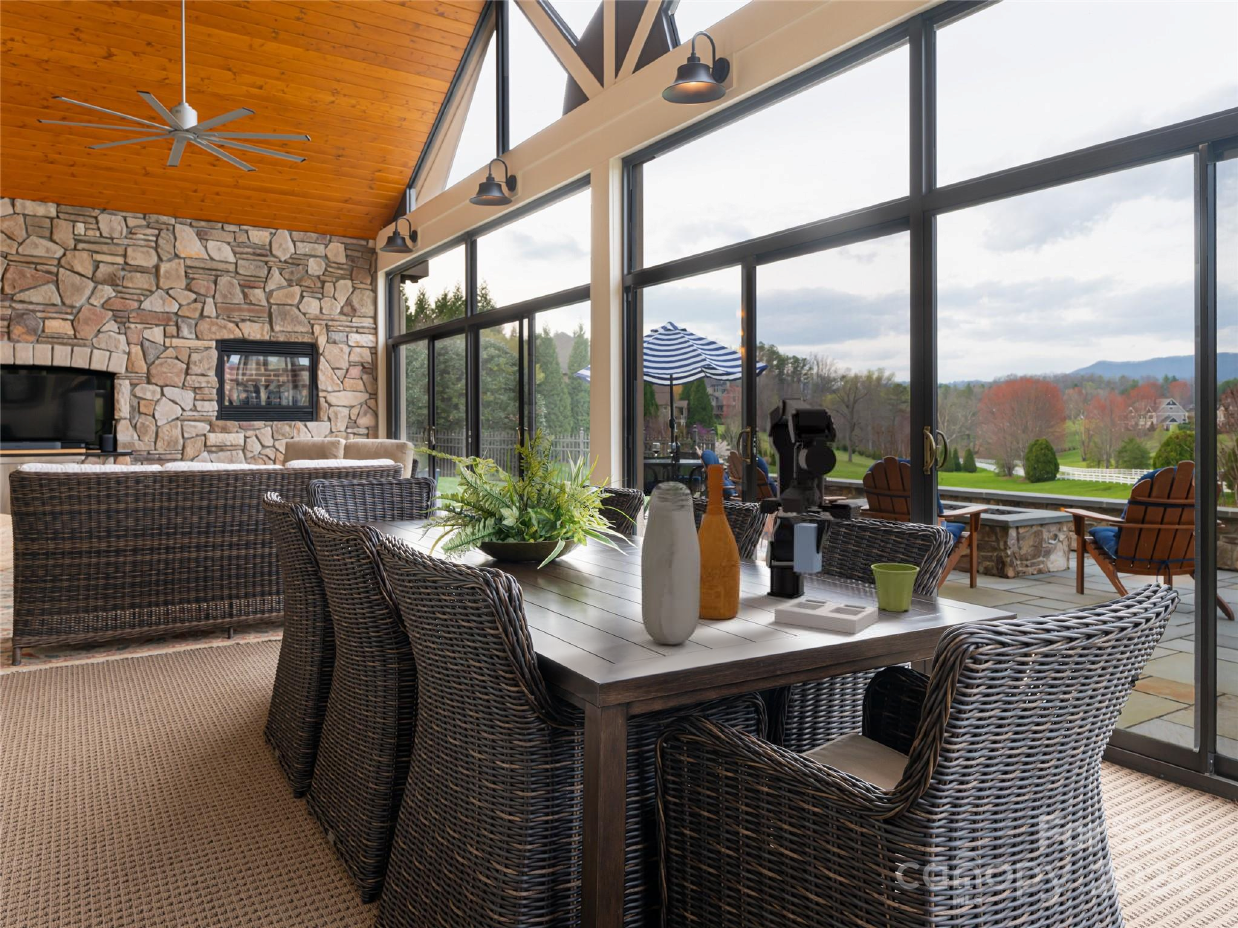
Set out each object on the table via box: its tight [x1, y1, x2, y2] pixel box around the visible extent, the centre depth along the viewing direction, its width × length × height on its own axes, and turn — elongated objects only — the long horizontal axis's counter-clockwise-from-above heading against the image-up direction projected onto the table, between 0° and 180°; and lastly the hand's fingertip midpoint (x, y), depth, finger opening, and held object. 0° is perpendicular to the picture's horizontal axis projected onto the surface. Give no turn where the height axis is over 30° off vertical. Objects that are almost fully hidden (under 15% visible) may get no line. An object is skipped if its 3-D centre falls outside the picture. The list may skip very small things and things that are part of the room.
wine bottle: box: [697, 463, 741, 620], centre depth 170 cm, size 10×10×30 cm
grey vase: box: [640, 481, 700, 646], centre depth 149 cm, size 10×10×28 cm
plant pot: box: [870, 562, 920, 613], centre depth 177 cm, size 9×9×9 cm
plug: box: [794, 522, 823, 574], centre depth 167 cm, size 4×5×9 cm
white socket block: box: [774, 598, 879, 634], centre depth 166 cm, size 16×12×3 cm
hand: (807, 552), depth 167 cm, fingers closed on plug, 4 cm apart
